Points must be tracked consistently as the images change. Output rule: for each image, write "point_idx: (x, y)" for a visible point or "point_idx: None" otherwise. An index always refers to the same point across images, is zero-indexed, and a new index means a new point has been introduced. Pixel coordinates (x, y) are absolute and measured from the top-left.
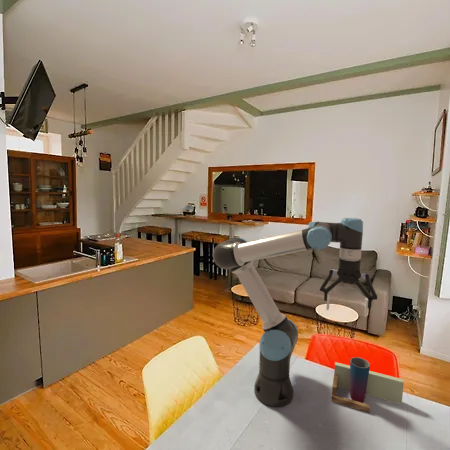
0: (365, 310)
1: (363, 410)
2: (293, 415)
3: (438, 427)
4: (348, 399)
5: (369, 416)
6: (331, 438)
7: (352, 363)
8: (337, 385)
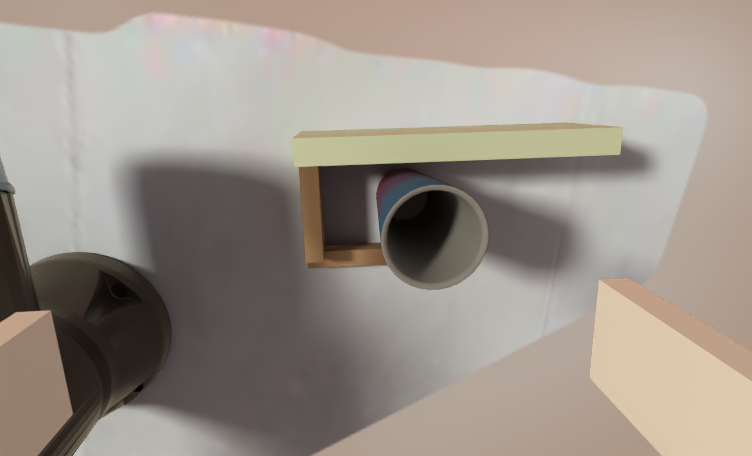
0: (656, 446)
1: None
2: (202, 394)
3: (659, 208)
4: (373, 253)
5: None
6: (336, 418)
7: (395, 272)
8: None
